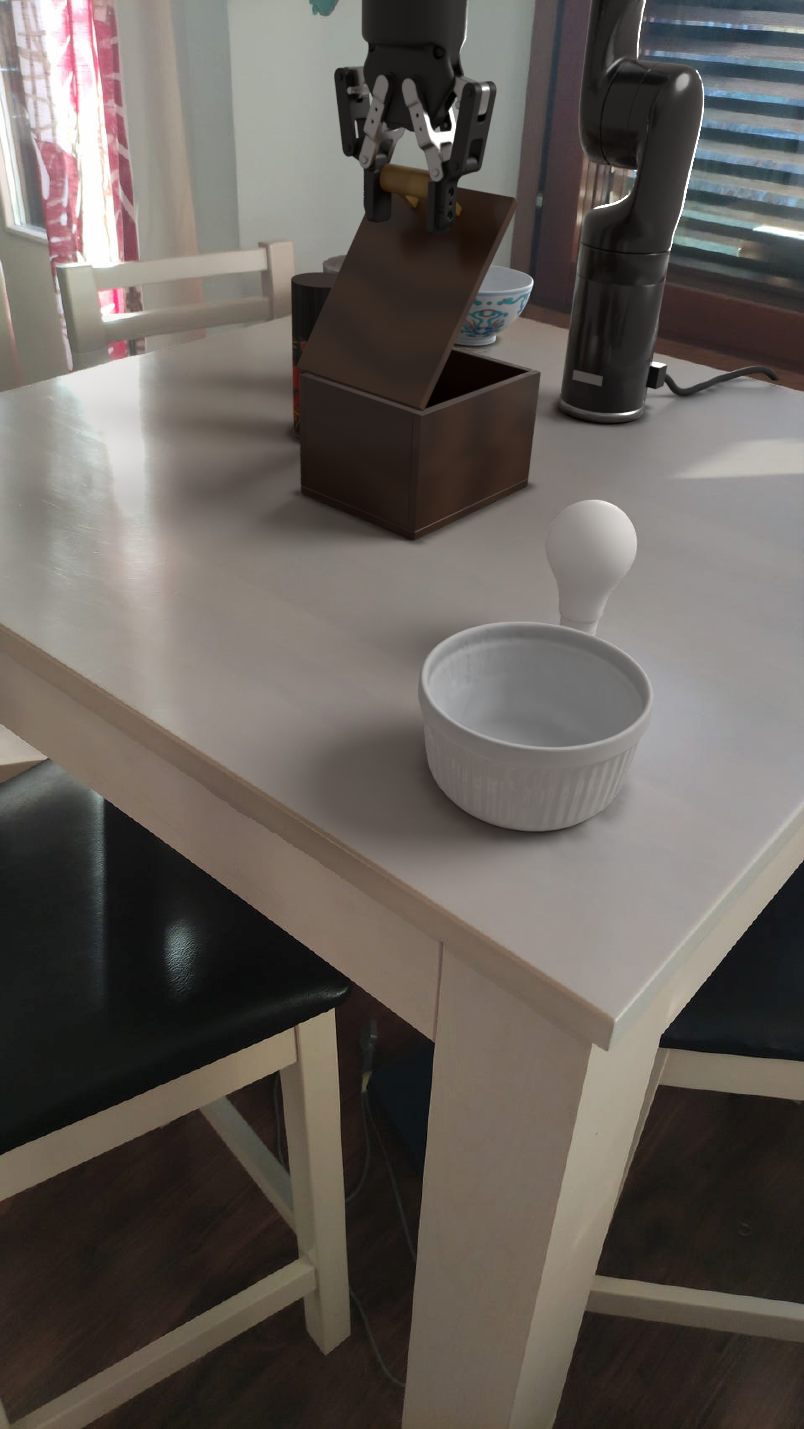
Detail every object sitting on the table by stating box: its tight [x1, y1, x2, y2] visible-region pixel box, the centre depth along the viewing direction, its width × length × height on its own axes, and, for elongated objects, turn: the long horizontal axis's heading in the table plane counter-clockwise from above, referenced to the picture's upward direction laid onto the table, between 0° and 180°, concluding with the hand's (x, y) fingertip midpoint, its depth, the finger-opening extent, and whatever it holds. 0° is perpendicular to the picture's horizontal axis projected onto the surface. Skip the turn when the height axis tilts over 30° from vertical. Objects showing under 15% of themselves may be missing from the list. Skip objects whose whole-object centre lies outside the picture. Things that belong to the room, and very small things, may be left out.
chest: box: [299, 346, 542, 541], centre depth 95 cm, size 17×14×11 cm
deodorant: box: [290, 271, 338, 440], centre depth 104 cm, size 6×6×15 cm
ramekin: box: [417, 620, 655, 832], centre depth 61 cm, size 13×13×7 cm
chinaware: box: [455, 264, 534, 347], centre depth 137 cm, size 15×15×8 cm
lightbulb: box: [545, 499, 638, 636], centre depth 73 cm, size 6×6×11 cm
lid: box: [297, 162, 519, 411], centre depth 83 cm, size 17×14×5 cm
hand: (407, 226), depth 83 cm, fingers closed on lid, 5 cm apart
